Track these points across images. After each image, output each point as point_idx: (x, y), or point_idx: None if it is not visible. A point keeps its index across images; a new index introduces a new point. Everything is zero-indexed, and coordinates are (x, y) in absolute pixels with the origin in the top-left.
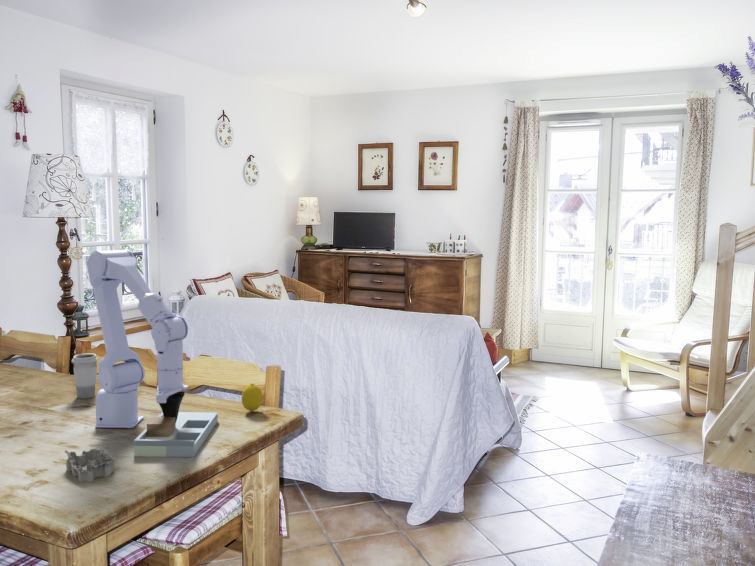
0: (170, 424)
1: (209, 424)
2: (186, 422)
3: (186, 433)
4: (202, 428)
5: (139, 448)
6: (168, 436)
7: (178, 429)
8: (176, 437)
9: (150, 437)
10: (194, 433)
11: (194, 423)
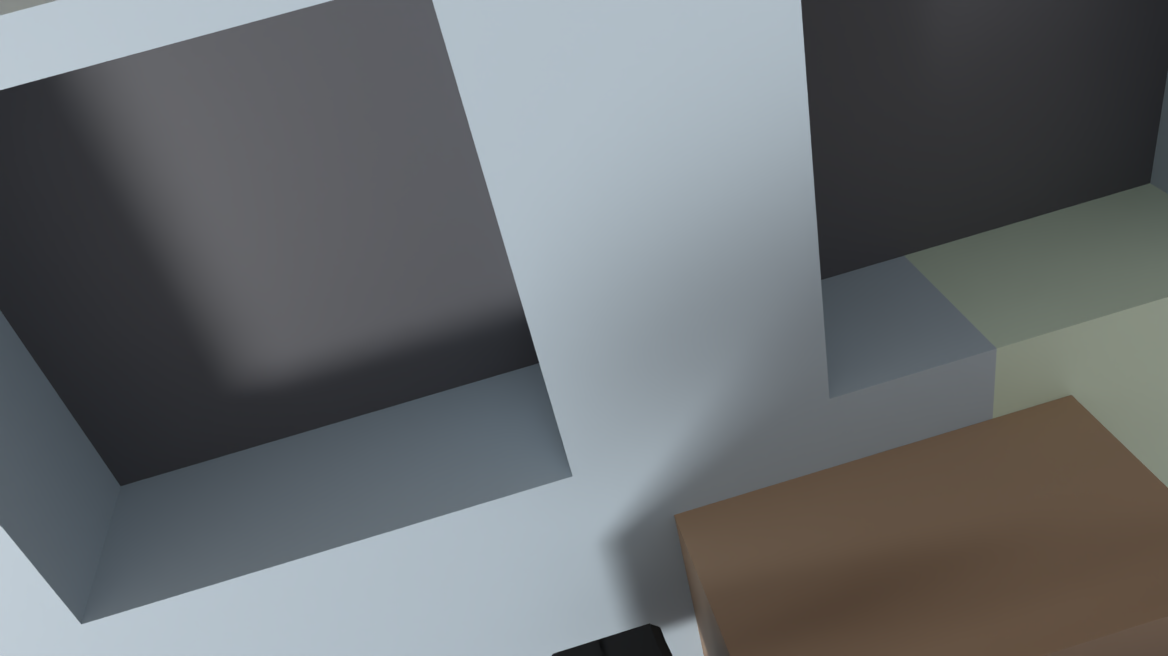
0: (1109, 585)
1: (15, 9)
2: (185, 578)
3: (813, 229)
4: (464, 19)
5: None
6: (1076, 406)
7: (673, 469)
8: (864, 332)
9: None
10: (796, 55)
11: (21, 462)
